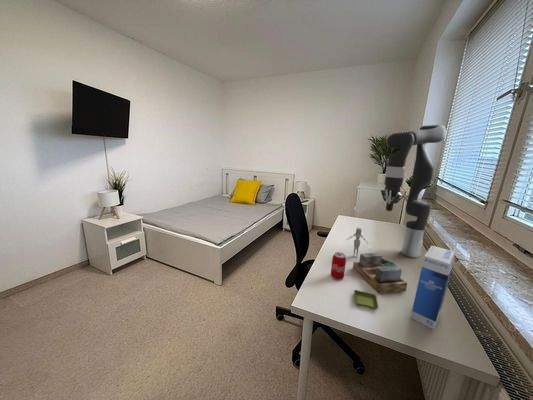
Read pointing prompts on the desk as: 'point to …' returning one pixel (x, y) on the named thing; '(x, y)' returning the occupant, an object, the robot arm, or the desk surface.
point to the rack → (368, 272)
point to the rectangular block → (388, 274)
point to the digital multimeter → (387, 263)
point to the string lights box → (432, 285)
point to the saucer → (365, 299)
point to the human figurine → (357, 240)
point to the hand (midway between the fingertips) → (388, 210)
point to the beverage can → (338, 266)
